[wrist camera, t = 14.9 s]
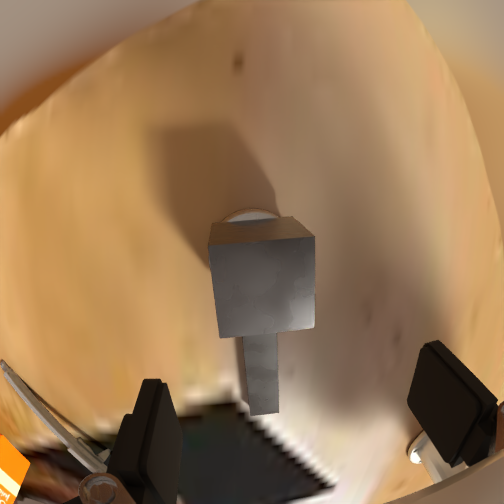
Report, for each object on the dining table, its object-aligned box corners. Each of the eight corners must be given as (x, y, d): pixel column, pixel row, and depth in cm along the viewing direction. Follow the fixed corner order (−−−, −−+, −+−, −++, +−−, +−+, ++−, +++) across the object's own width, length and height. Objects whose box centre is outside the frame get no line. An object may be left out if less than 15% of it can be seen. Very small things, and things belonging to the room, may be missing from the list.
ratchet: (292, 205, 25) (308, 216, 20) (295, 400, 31) (304, 433, 27) (205, 212, 25) (201, 225, 20) (231, 408, 31) (232, 442, 26)
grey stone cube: (292, 216, 23) (314, 236, 18) (295, 290, 25) (314, 327, 19) (212, 223, 23) (208, 245, 17) (220, 297, 25) (219, 338, 19)
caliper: (122, 455, 33) (113, 490, 27) (118, 457, 33) (109, 491, 27) (3, 358, 28) (-21, 387, 22) (1, 362, 28) (-22, 390, 22)
